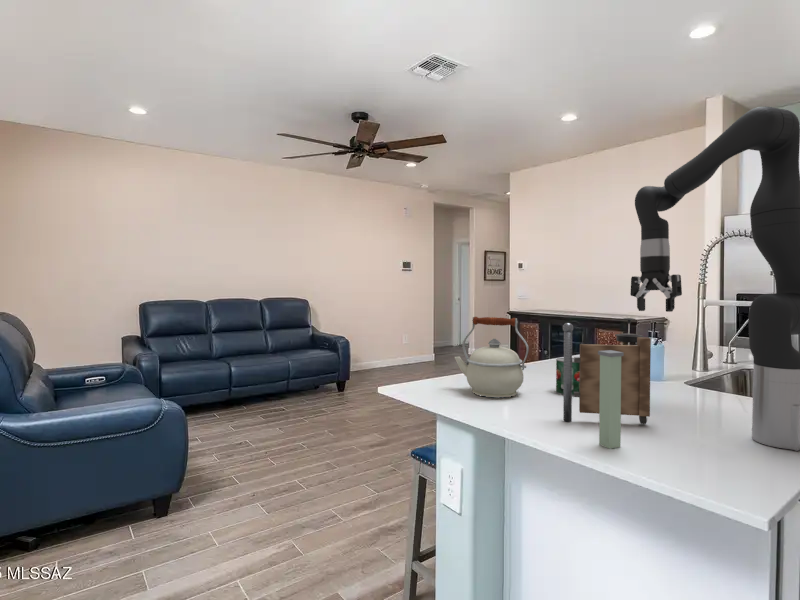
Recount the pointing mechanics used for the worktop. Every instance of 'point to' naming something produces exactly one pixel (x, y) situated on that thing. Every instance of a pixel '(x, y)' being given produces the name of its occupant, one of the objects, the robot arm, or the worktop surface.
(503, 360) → the kettle
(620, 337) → the french press
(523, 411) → the worktop surface
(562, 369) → the canned tomato
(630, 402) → the gate
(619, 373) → the post
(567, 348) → the hinge post
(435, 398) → the worktop surface
